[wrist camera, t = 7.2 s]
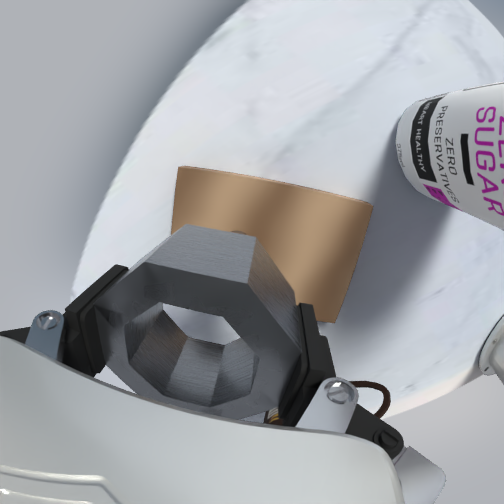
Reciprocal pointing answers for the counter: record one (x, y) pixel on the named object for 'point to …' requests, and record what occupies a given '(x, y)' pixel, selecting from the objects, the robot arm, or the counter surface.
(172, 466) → the robot arm
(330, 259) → the stand
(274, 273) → the ring
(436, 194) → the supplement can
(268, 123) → the counter surface
